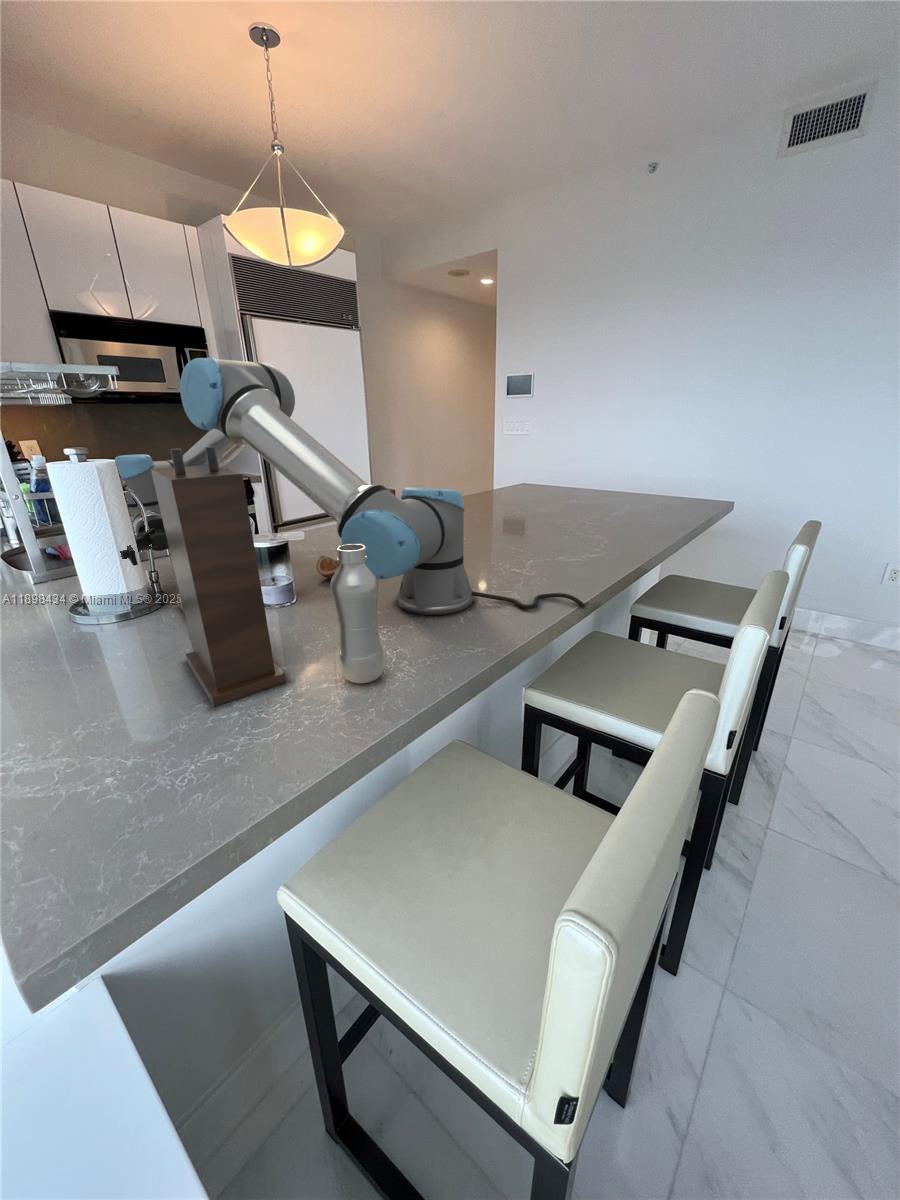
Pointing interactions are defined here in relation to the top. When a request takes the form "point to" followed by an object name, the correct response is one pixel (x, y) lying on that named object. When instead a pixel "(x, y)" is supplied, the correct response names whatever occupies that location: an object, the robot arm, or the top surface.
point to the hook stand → (217, 577)
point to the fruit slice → (327, 566)
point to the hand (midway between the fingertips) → (174, 551)
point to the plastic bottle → (357, 616)
